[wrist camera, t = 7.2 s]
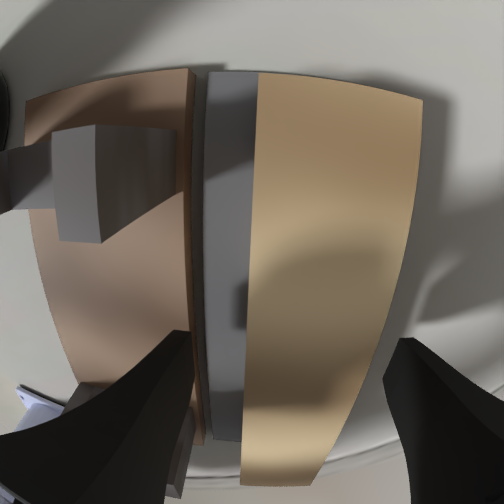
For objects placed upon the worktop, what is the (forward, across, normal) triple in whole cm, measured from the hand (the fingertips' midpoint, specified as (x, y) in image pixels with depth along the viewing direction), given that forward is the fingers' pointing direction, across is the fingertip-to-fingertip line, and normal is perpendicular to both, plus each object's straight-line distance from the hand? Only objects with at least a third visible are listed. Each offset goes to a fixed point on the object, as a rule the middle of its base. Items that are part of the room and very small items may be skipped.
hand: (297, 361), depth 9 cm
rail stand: (+2, +8, 0) cm, 8 cm away
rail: (+2, 0, 0) cm, 2 cm away
